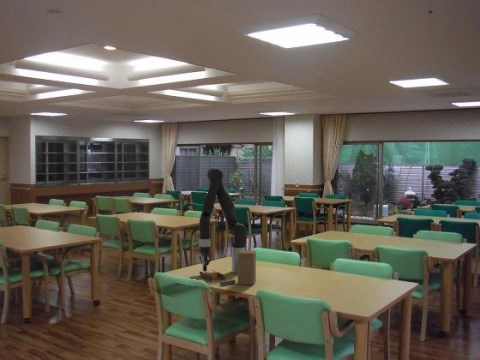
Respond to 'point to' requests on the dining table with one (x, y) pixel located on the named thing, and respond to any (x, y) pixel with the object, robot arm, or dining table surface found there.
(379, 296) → the dining table surface
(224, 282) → the bar
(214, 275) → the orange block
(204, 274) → the walnut chute
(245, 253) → the wooden block
